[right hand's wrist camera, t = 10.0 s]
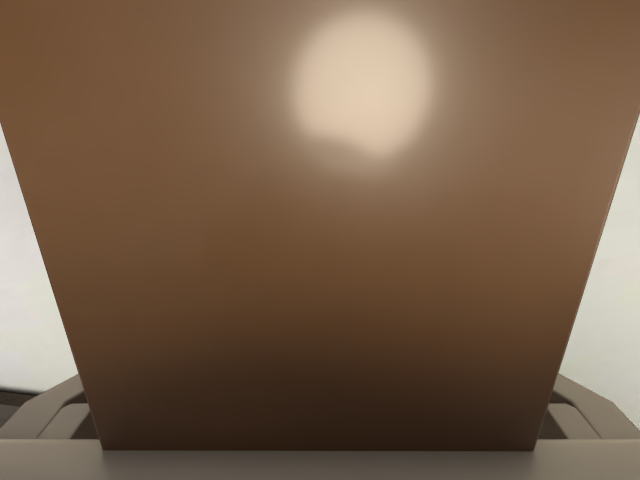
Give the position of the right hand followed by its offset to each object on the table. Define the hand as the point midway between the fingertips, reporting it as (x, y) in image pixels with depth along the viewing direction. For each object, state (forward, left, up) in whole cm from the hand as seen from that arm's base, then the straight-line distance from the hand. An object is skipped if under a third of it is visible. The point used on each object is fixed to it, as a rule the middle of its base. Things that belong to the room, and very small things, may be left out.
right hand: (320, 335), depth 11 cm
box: (+9, 0, -4) cm, 10 cm away
